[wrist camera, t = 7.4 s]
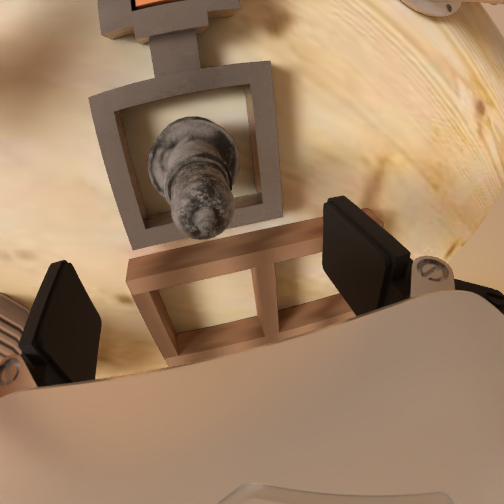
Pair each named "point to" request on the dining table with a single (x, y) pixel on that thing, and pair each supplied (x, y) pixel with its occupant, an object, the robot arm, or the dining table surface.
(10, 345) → the can
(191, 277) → the walnut rack
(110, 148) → the grey flat frame piece
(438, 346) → the robot arm
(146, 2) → the button
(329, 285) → the dining table surface
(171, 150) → the chess piece
